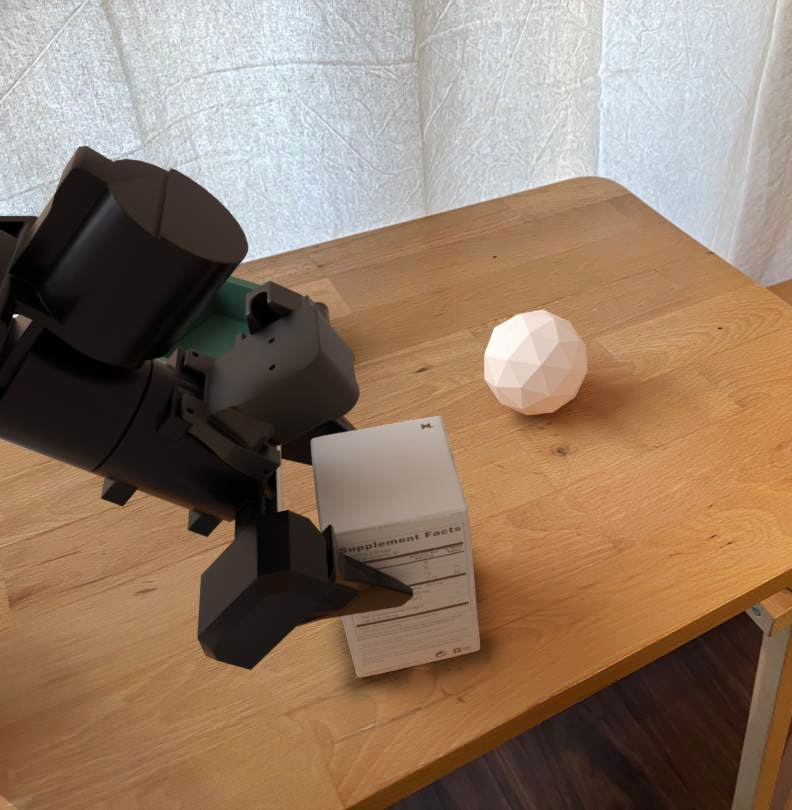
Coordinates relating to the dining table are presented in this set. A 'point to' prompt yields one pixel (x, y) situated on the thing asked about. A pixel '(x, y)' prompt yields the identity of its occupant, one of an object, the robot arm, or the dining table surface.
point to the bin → (218, 321)
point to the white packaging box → (401, 539)
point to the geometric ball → (535, 362)
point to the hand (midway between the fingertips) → (397, 530)
